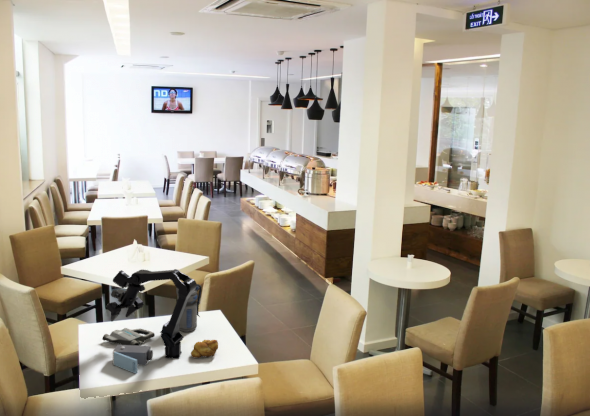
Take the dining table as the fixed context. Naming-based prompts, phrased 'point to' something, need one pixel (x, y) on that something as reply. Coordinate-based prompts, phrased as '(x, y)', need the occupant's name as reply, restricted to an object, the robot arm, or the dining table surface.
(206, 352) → the bread roll
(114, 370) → the dining table surface
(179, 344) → the robot arm
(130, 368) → the side door
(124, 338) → the camcorder
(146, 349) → the grey block with knob
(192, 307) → the beverage bottle
